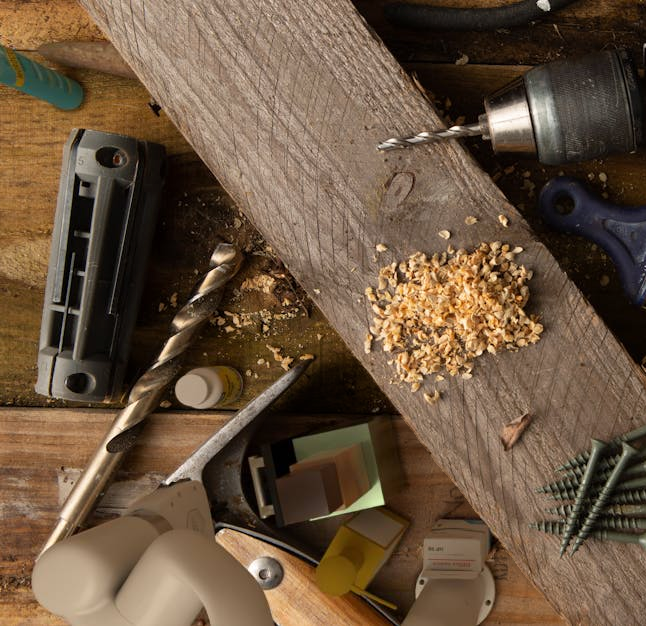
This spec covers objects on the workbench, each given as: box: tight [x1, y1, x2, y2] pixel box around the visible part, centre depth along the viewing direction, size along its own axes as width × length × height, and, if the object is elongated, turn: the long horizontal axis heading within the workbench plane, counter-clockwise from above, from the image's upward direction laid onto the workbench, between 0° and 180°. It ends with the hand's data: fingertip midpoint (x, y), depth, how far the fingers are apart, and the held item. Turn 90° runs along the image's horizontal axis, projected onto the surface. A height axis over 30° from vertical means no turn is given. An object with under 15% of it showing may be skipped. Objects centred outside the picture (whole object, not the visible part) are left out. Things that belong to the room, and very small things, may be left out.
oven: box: [292, 412, 406, 522], centre depth 120 cm, size 11×12×13 cm
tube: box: [0, 43, 84, 111], centre depth 117 cm, size 7×5×19 cm, turn 32°
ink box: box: [420, 518, 491, 579], centre depth 120 cm, size 9×5×15 cm, turn 89°
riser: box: [290, 443, 371, 512], centre depth 108 cm, size 7×6×12 cm
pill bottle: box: [174, 365, 244, 410], centre depth 121 cm, size 6×6×11 cm
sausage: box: [37, 40, 140, 81], centre depth 124 cm, size 6×18×6 cm
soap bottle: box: [315, 505, 411, 611], centre depth 115 cm, size 7×13×24 cm, turn 60°
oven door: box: [247, 427, 320, 528], centre depth 121 cm, size 5×12×13 cm, turn 12°
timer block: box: [275, 462, 343, 525], centre depth 99 cm, size 6×6×6 cm
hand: (217, 508), depth 105 cm, fingers closed
